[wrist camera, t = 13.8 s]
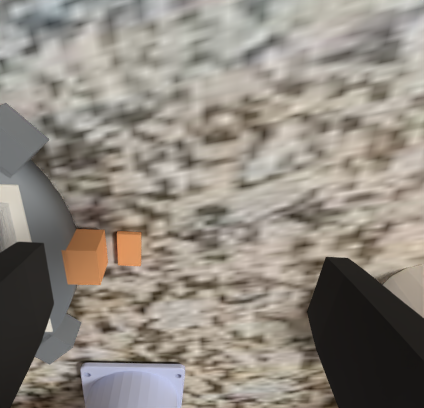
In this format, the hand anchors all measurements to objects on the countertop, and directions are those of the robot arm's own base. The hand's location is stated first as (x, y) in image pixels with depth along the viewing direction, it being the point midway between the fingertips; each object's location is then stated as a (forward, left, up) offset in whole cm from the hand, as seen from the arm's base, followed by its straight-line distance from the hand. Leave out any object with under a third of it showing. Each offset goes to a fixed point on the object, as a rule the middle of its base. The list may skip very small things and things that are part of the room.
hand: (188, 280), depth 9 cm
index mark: (-7, +3, -10) cm, 13 cm away
